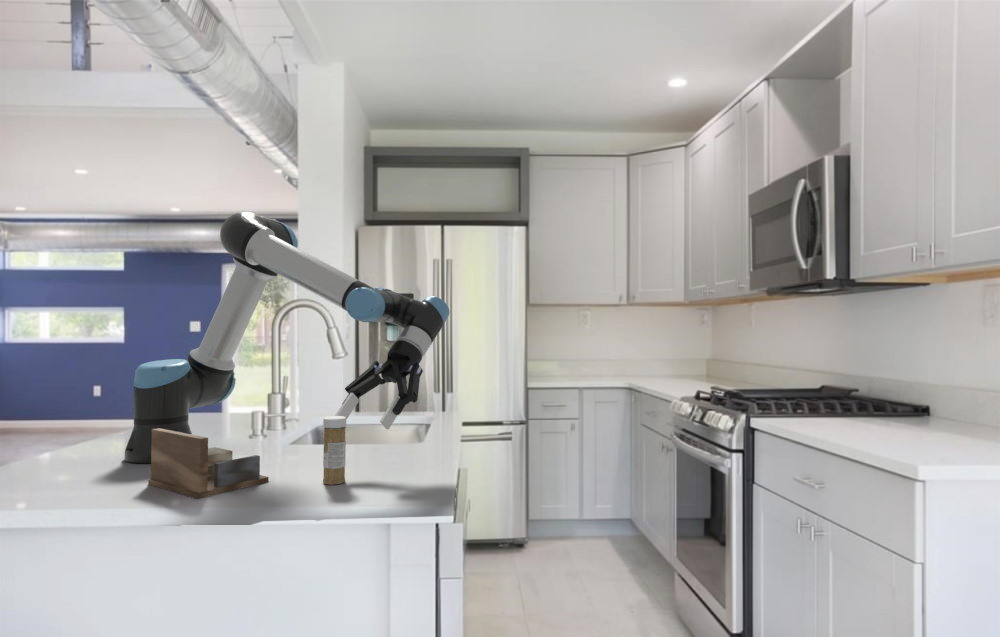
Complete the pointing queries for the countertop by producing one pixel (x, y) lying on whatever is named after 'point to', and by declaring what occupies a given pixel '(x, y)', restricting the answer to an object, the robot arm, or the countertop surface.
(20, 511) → the countertop surface
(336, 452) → the sprinkles bottle
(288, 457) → the countertop surface
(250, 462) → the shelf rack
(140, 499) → the countertop surface
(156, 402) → the robot arm
